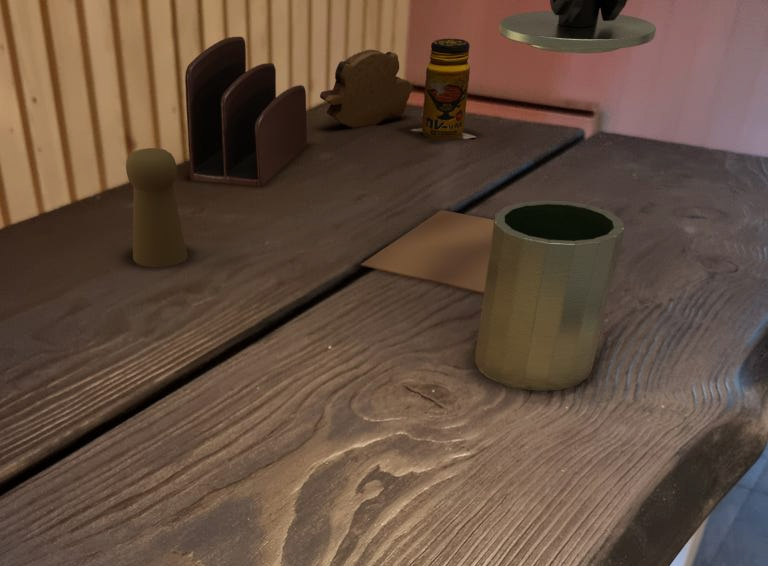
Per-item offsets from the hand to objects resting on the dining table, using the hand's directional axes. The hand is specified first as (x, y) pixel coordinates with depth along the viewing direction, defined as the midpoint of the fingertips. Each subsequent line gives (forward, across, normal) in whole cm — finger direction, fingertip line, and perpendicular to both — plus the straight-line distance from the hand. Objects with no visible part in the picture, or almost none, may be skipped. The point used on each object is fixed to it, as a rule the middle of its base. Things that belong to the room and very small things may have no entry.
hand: (594, 13), depth 66 cm
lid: (0, 0, +2) cm, 3 cm away
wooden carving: (-36, +10, +73) cm, 82 cm away
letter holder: (-26, -11, +63) cm, 69 cm away
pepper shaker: (-4, -29, +41) cm, 50 cm away
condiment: (-30, +19, +67) cm, 76 cm away
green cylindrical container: (+20, -1, +17) cm, 26 cm away
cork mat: (+2, +6, +34) cm, 35 cm away
